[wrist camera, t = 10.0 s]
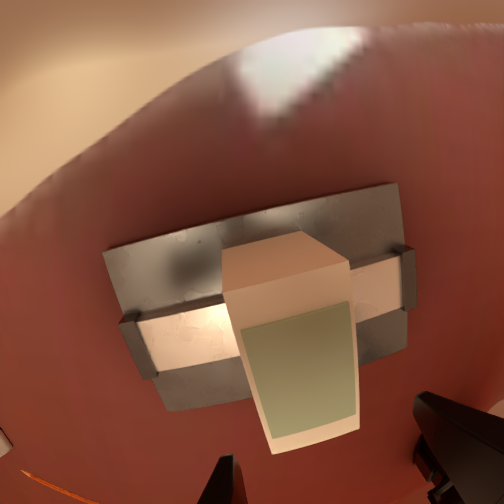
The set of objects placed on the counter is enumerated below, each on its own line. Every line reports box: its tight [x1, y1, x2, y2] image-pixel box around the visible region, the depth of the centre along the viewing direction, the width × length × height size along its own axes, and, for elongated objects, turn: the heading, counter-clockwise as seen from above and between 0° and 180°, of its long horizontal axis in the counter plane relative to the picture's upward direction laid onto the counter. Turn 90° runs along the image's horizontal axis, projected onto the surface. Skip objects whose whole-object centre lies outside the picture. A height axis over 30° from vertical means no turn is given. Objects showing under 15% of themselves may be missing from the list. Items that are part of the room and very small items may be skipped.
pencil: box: [21, 470, 100, 504], centre depth 22 cm, size 1×18×1 cm, turn 71°
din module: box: [222, 231, 359, 455], centre depth 14 cm, size 4×9×7 cm, turn 13°
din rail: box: [102, 182, 417, 412], centre depth 17 cm, size 18×12×2 cm, turn 103°
